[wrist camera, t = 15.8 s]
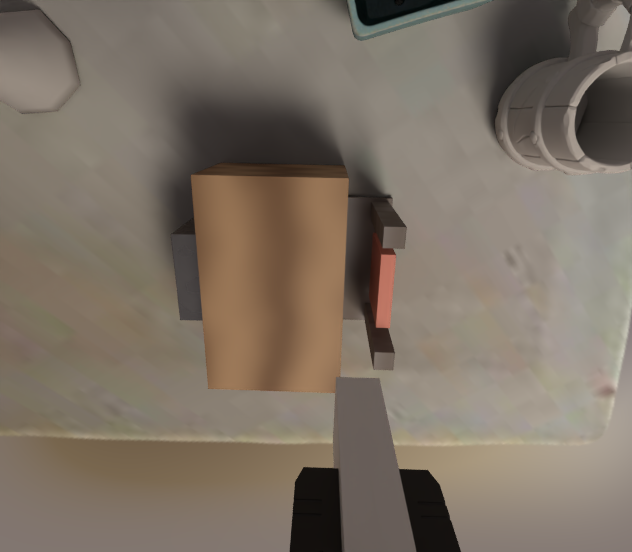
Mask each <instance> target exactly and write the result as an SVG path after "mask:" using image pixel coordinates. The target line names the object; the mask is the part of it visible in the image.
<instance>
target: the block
mask: <svg viewBox="0 0 632 552" xmlns="http://www.w3.org/2000/svg"><path fill="white" fill-rule="evenodd" d="M191 185H192V197H193V209H194V221H195V233H196V245H197V257H198V269H199V282H200V294H201V306H202V318H203V330H204V342H205V354H206V366H207V378H208V389H231V390H261V391H291V392H321V393H335V389H336V377H340V368H341V346H342V323H343V319H350V320H365V324H366V330H367V335H368V341H369V347H370V353H371V358H372V364H373V370H393V367H394V357H395V352H394V348H393V345H392V341H391V337H390V334H389V330H388V328H376V326H375V321H374V317H373V312H372V308H371V303H370V299H369V286H370V271H371V256H372V241H373V233H377V236H378V238H379V241H380V243H381V245H382V248H397V249H405V240H406V229H407V227H406V226H405V224H404V223H403V221H402V220H401V219H400V217H399V216H398V214H397V213H396V212H395V210H394V209H393V207H392V201H393V198H380V197H348V187H349V177H348V174H347V171H346V168H345V166H344V165H298V164H251V163H219V164H217V165H214V166H212V167H209V168H207V169H204V170H202V171H199V172H197V173H194V174H192V175H191Z"/></svg>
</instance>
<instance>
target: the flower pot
mask: <svg viewBox="0 0 632 552" xmlns="http://www.w3.org/2000/svg"><path fill="white" fill-rule="evenodd" d="M346 1H347V6H348V11H349V16H350V21H351V26H352V31H353V35H354V37H355V38H356V39H357V40H360V41H362V40H367V39H370V38H373V37H377V36H380V35H383V34H386V33H390V32H393V31H396V30H399V29H403V28H406V27H409V26H413V25H416V24H420V23H423V22H427V21H430V20H434V19H437V18H441V17H444V16H448V15H452V14H455V13H459V12H463V11H467V10H470V9H473V8H476V7H478V6H481V5H483V4H485V3H488V2H490V1H493V0H403V3H402V4H401V5H396V3H395V0H346Z"/></svg>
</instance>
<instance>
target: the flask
mask: <svg viewBox="0 0 632 552" xmlns="http://www.w3.org/2000/svg"><path fill="white" fill-rule="evenodd" d="M79 86H80V81H79V76H78V72H77V68H76V64H75V59H74V55H73V51H72V47H71V43H70V42H69V41H68V40H67V39H66V37H65V36H64V35H63V34H62V33H61V32H60V31H59V30H58V29H57V28H56V27H55V26H54V25H53V23H52V22H51V21H50V20H49V19H48V18H47V17H46V16H45V15H44V14H43V13H42V12H41V11H40V9H38V10H27V11H15V12H4V13H0V100H1V101H2V102H4V103H6V104H7V105H9V106H10V107H12V108H13V109H15V110H17V111H19V112H20V113H22V114H27V113H41V112H54V111H58V110H59V109H60V108H61V107H62V106H63V105H64V104H65V102H66V101H67V100H68V99H69V98H70V97H71V95H72V94H73V93H74V92H75V91H76V90H77V89H78V87H79Z"/></svg>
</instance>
